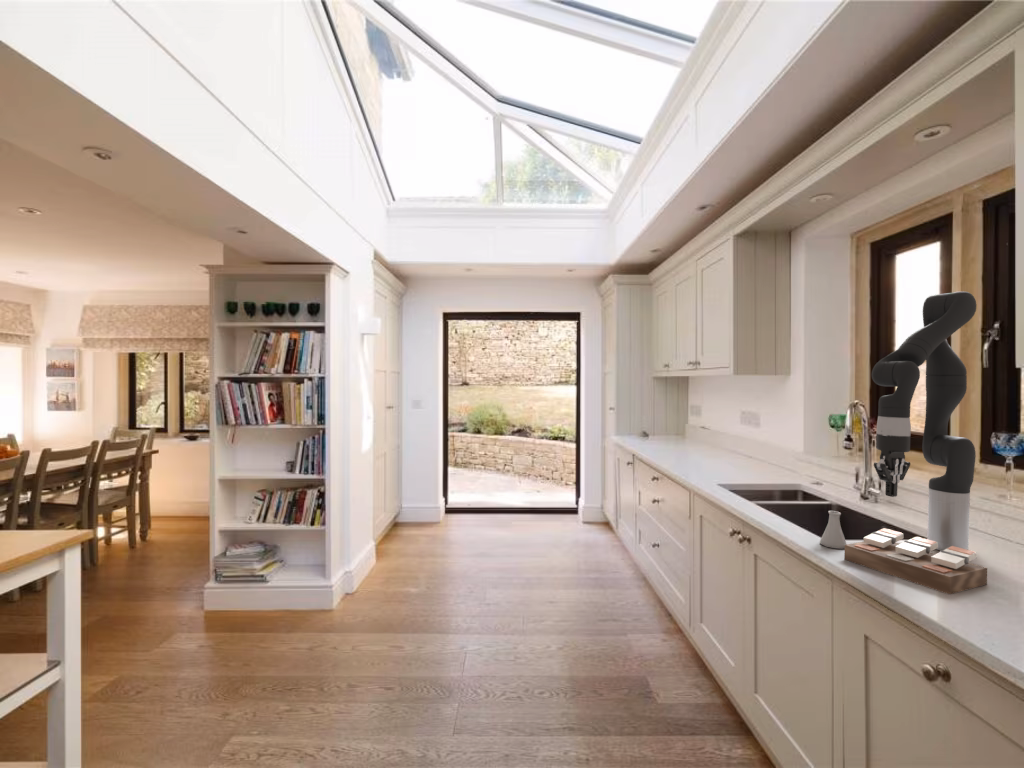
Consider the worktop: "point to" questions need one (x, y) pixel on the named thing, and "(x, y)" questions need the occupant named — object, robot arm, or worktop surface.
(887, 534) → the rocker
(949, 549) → the rocker
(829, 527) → the flask
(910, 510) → the worktop surface
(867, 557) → the switch unit
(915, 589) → the worktop surface
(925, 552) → the rocker
